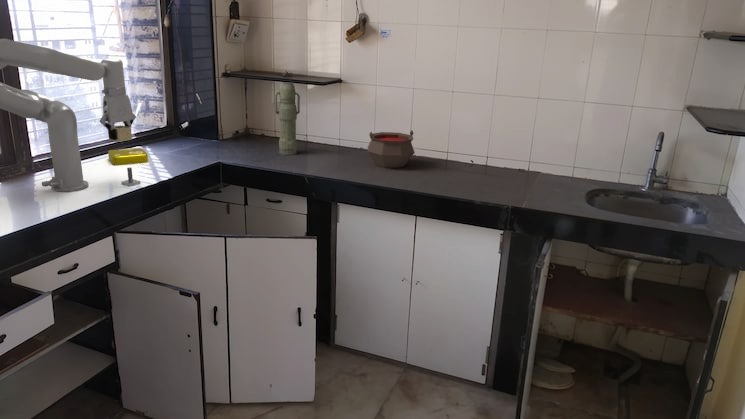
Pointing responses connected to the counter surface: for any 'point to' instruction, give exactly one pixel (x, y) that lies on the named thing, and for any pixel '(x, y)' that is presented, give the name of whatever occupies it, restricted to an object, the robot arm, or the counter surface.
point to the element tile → (128, 156)
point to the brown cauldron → (391, 149)
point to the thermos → (287, 118)
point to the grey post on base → (130, 179)
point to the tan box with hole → (122, 133)
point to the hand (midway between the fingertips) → (120, 137)
